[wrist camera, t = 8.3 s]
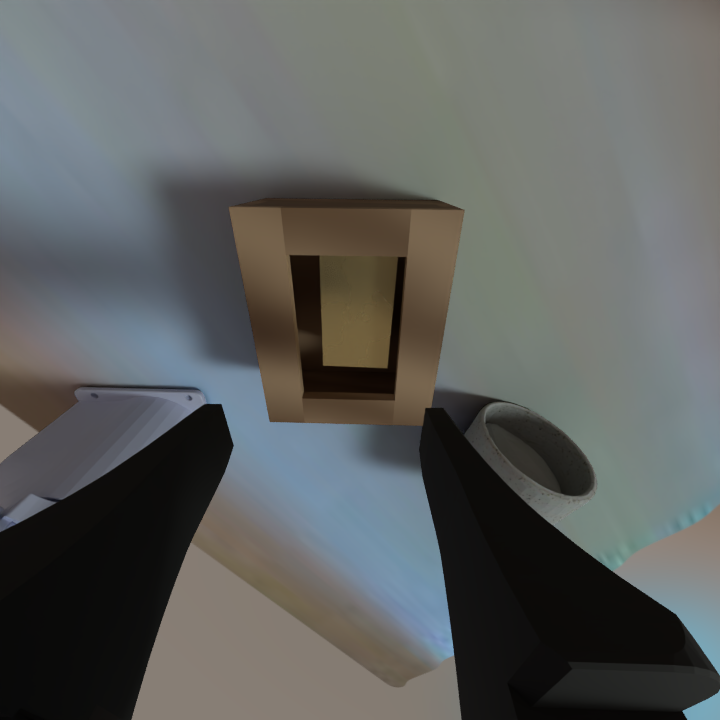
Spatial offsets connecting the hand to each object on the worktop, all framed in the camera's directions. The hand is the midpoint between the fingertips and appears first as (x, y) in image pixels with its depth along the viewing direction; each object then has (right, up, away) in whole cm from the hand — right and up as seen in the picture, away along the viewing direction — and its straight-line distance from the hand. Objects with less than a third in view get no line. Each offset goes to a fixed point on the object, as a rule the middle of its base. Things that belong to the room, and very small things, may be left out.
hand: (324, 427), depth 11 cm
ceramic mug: (+13, -4, +14) cm, 19 cm away
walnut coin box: (+1, +6, +8) cm, 10 cm away
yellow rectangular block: (+1, +6, +7) cm, 10 cm away
